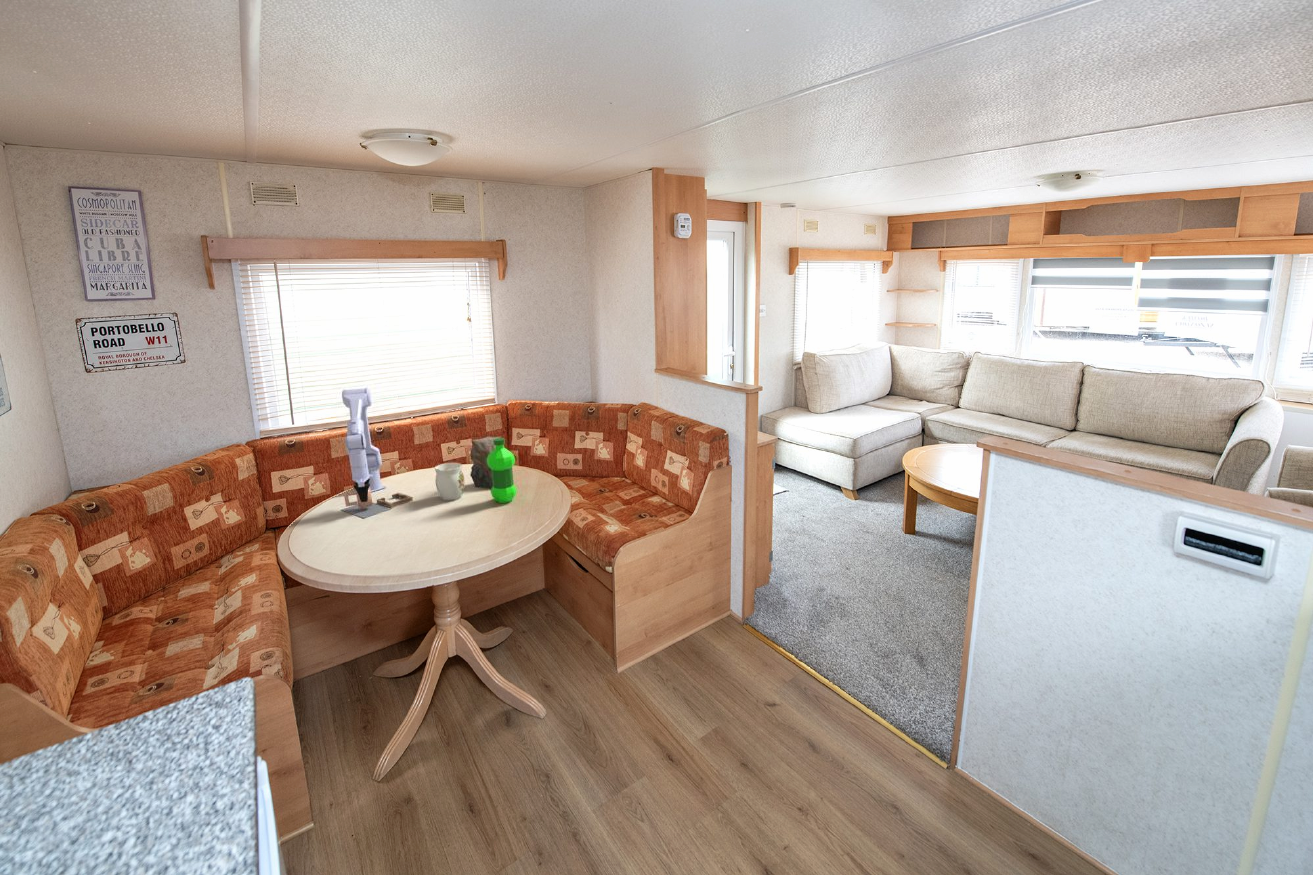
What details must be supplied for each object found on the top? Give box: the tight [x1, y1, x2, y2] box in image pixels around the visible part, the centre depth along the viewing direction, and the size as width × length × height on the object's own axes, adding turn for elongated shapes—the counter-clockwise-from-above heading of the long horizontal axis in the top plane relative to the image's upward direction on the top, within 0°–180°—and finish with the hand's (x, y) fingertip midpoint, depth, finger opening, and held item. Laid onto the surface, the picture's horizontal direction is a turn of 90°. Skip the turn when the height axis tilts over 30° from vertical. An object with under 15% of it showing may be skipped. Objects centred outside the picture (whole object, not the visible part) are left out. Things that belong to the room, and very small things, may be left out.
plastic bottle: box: [487, 437, 518, 504], centre depth 239 cm, size 10×10×25 cm
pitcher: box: [434, 462, 466, 501], centre depth 246 cm, size 11×18×14 cm, turn 6°
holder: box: [376, 492, 414, 509], centre depth 244 cm, size 10×10×2 cm
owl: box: [469, 435, 502, 490], centre depth 260 cm, size 13×13×20 cm
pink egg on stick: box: [343, 487, 374, 508], centre depth 234 cm, size 9×5×7 cm, turn 115°
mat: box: [341, 502, 391, 519], centre depth 236 cm, size 16×11×1 cm
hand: (364, 499), depth 235 cm, fingers closed on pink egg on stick, 5 cm apart
